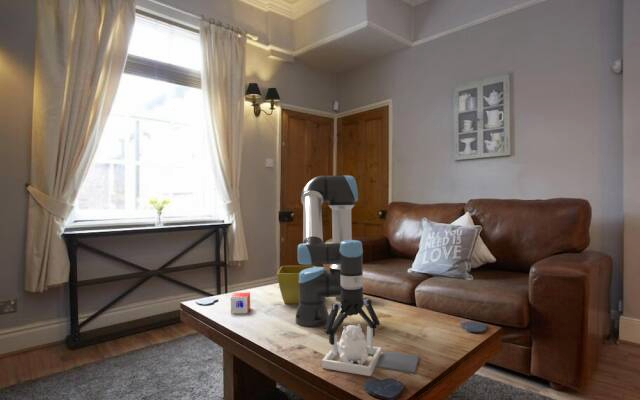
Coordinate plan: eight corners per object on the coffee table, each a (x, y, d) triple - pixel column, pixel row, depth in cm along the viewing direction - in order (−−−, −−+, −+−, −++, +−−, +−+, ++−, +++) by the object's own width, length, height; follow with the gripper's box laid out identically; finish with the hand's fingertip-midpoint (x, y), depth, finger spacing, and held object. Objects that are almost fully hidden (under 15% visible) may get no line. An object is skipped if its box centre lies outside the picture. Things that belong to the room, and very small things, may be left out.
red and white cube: (250, 308, 182) (249, 292, 182) (247, 313, 174) (247, 296, 174) (234, 308, 181) (233, 292, 181) (230, 313, 173) (230, 297, 173)
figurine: (336, 355, 126) (335, 321, 126) (364, 354, 127) (363, 319, 127) (340, 369, 116) (339, 331, 116) (370, 367, 117) (369, 330, 117)
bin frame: (322, 367, 117) (321, 360, 117) (337, 348, 132) (337, 341, 132) (370, 376, 111) (370, 368, 111) (381, 354, 126) (381, 347, 126)
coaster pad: (376, 367, 116) (376, 365, 116) (383, 352, 128) (383, 350, 128) (414, 373, 112) (414, 371, 112) (418, 357, 123) (418, 355, 123)
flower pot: (314, 305, 184) (314, 272, 184) (277, 305, 184) (276, 273, 184) (315, 295, 203) (315, 265, 203) (281, 295, 204) (281, 266, 203)
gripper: (322, 294, 113) (323, 361, 113) (389, 285, 123) (390, 347, 123) (313, 288, 120) (314, 352, 120) (377, 280, 130) (378, 339, 130)
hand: (352, 350), depth 121 cm, fingers open, 13 cm apart
